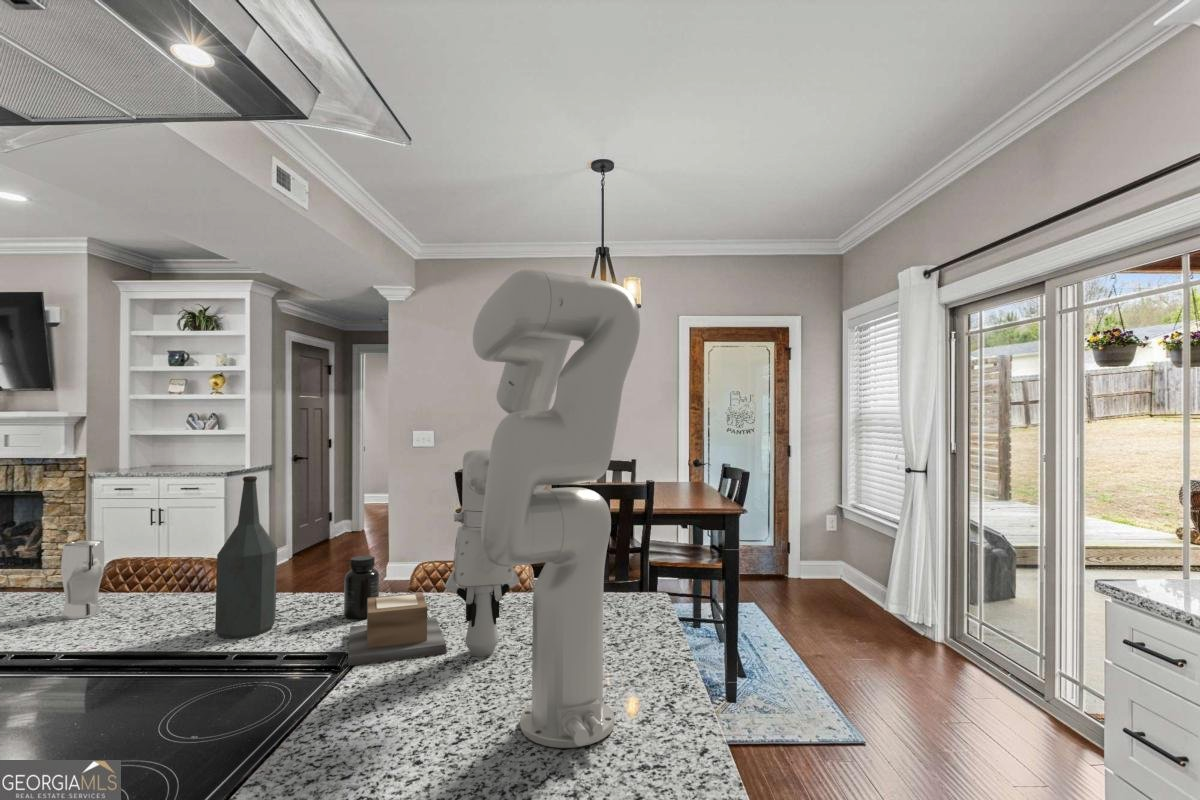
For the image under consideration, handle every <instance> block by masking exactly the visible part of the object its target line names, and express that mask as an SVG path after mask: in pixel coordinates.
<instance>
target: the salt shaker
mask: <svg viewBox="0 0 1200 800" xmlns="http://www.w3.org/2000/svg"><path fill="white" fill-rule="evenodd" d="M493 591H494V585H492V586H481V587H475V588H474V597H473V598H474V603H475V604H476V617H475V625H474V627H471V621H468V626H467V632H466V634H465V635H466V637H465V644H466V646H467V648H468V650H469V652H470V654H471V656H473V657H479V658H483V657H486V656H491V655H492V654H493V652H494V651H495V650H496V649H495V648H496V646H497V645H498V642H499V638H500V634H499V630H498V624H497V622H496V624H494V623H493V616H492V592H493Z"/></svg>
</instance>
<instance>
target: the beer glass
mask: <svg viewBox="0 0 1200 800" xmlns="http://www.w3.org/2000/svg"><path fill="white" fill-rule="evenodd" d="M104 568H105V546H104V540H100V539H99V540H97V539H95V540H93V539H92V540H82V541H81V540H80V541H74V542H73V541H72V542H69V543H67V542H66V543H65V544H63V547H62V553H61V562H60V573H61V575H60V576H61V580H62V585H63V586H62V587H63V591H64V607H63V610H62V614H61V618H62V619H63V620H79V619H84V618H85V619H86V618H90V617H93V616H96V615H98V614H100V612H101V608H100V604H99V591H100V586H101V583H102V578H103V574H104Z"/></svg>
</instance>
